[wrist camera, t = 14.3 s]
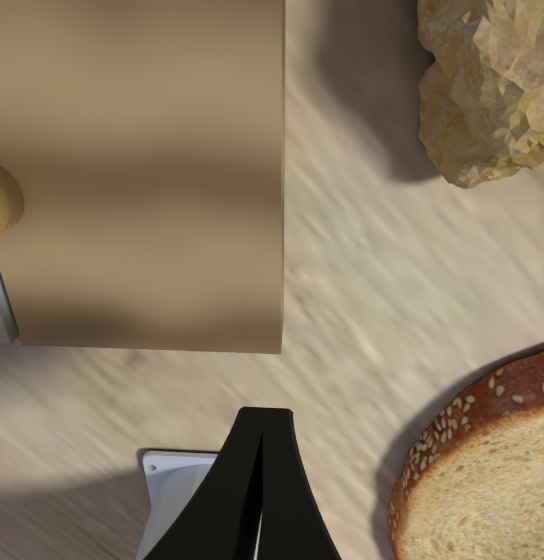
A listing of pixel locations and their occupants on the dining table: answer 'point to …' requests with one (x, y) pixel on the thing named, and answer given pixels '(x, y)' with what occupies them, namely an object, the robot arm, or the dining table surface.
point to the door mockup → (144, 173)
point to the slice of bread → (477, 474)
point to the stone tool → (482, 87)
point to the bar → (9, 201)
